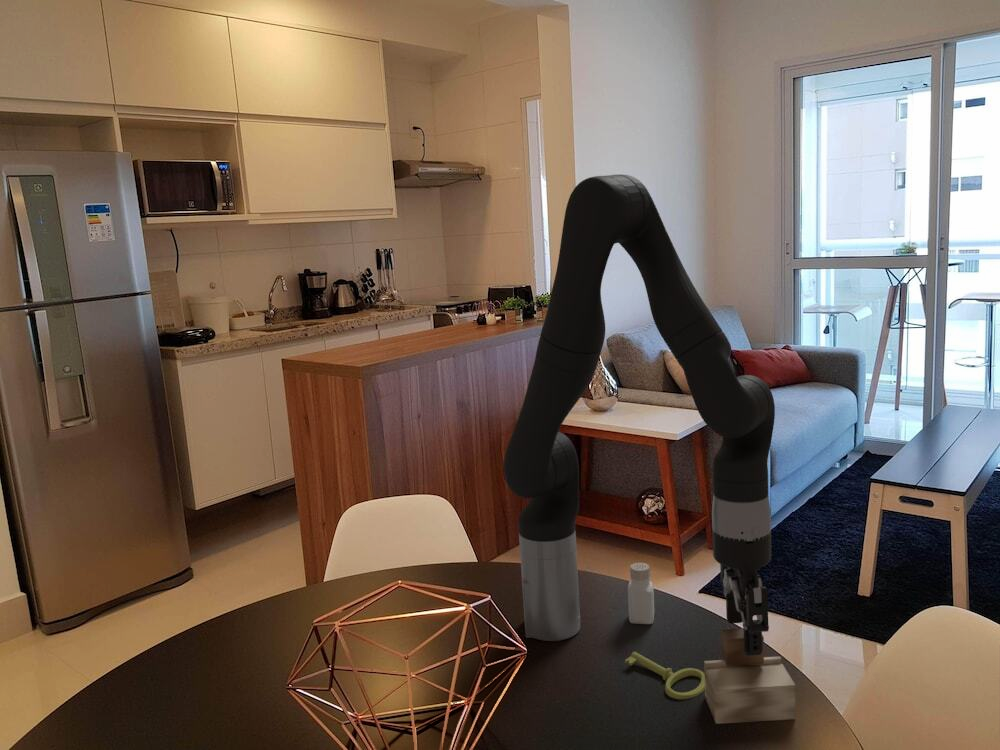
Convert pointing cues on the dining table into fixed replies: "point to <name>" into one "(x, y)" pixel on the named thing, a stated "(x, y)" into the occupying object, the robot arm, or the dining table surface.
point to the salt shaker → (640, 595)
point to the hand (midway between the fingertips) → (743, 637)
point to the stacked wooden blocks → (738, 653)
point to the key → (670, 676)
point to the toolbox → (750, 693)
